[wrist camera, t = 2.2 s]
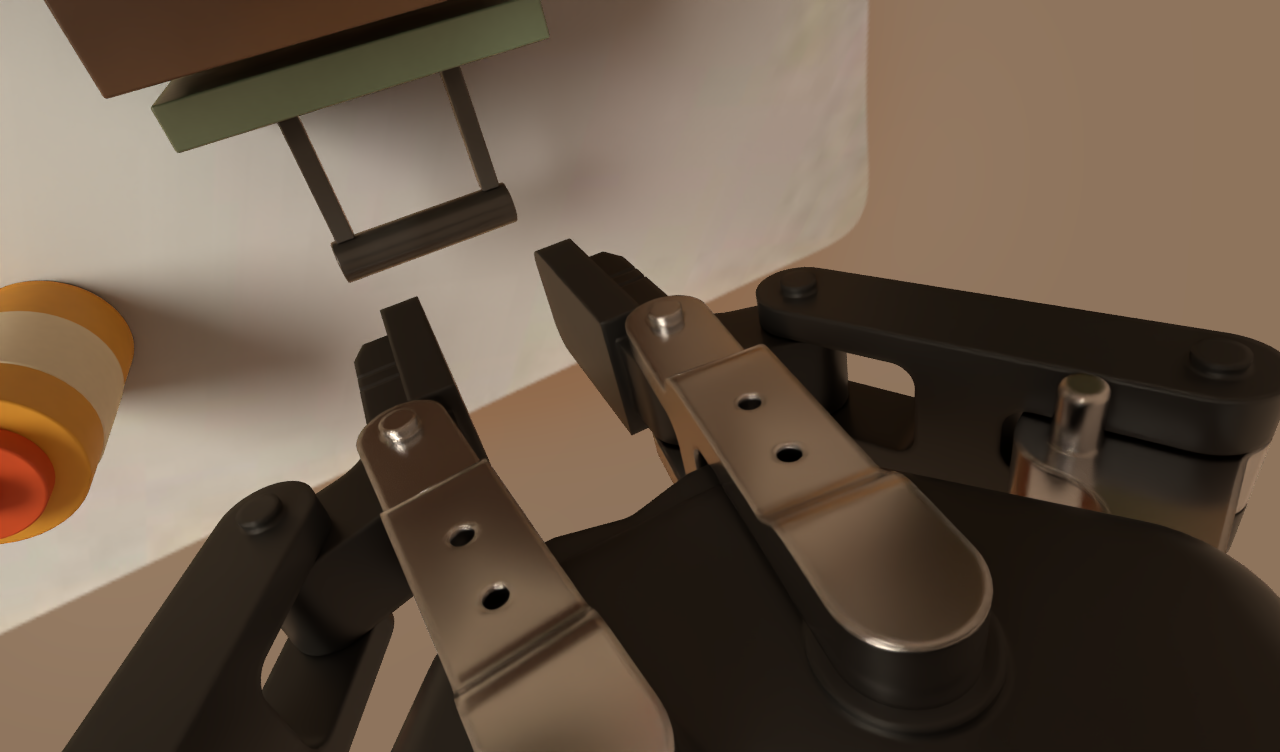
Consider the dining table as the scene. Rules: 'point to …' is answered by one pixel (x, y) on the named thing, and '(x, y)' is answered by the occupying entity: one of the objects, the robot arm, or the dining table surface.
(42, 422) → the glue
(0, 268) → the dining table surface
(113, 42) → the cabinet
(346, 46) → the drawer
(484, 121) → the dining table surface
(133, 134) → the dining table surface
